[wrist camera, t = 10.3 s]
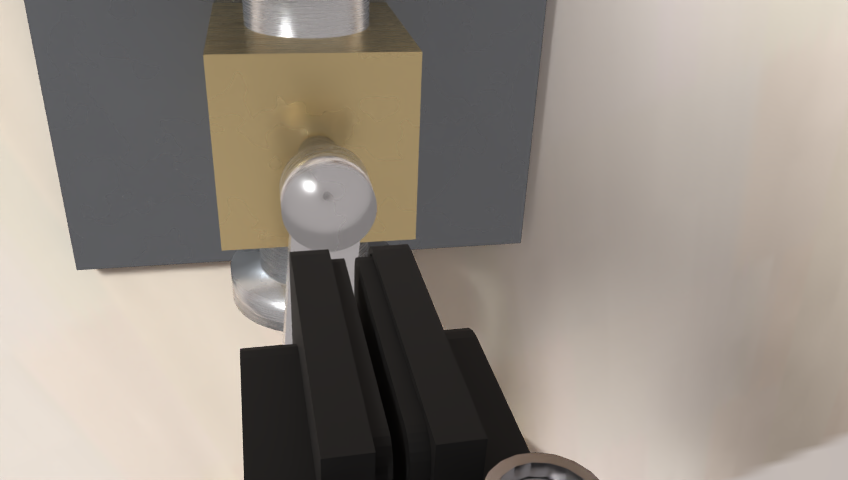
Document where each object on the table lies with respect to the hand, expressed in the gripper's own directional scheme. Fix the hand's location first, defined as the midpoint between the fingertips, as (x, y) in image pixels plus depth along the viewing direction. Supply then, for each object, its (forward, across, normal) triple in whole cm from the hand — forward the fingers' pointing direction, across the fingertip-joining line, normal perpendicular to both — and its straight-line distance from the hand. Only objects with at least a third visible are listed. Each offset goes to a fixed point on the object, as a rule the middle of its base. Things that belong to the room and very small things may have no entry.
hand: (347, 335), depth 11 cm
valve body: (+30, -2, +6) cm, 30 cm away
